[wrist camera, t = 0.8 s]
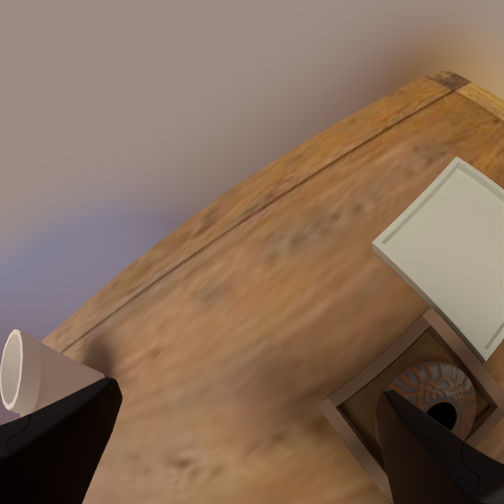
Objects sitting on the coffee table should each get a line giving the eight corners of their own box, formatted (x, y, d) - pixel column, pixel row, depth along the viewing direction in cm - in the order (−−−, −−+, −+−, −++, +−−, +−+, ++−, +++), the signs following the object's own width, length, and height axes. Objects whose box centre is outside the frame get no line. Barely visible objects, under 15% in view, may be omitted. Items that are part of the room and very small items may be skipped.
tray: (551, 247, 14) (557, 239, 13) (480, 363, 15) (486, 360, 13) (455, 166, 23) (456, 156, 22) (372, 250, 23) (371, 242, 22)
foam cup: (126, 411, 26) (25, 390, 16) (90, 436, 26) (3, 420, 16) (106, 348, 32) (22, 313, 22) (74, 379, 32) (-1, 353, 22)
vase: (413, 350, 18) (430, 323, 11) (475, 394, 14) (523, 390, 7) (356, 421, 17) (340, 437, 11) (417, 467, 13) (435, 507, 6)
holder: (503, 404, 12) (512, 404, 10) (394, 500, 12) (394, 508, 11) (427, 312, 19) (430, 306, 17) (321, 404, 19) (316, 404, 18)
